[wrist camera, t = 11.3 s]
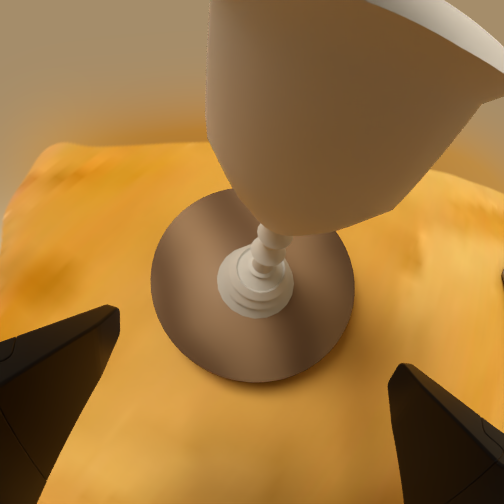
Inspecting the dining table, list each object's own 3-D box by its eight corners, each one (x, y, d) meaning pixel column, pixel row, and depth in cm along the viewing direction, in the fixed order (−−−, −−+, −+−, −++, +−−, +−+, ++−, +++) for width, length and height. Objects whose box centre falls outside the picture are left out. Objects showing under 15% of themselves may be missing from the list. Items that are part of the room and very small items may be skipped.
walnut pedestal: (207, 414, 18) (206, 419, 16) (132, 242, 22) (124, 227, 20) (371, 324, 22) (387, 317, 20) (286, 184, 26) (292, 166, 24)
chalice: (183, 306, 19) (91, -27, 2) (223, 219, 21) (256, -64, 5) (291, 348, 18) (583, 165, 2) (320, 256, 21) (482, 23, 5)
